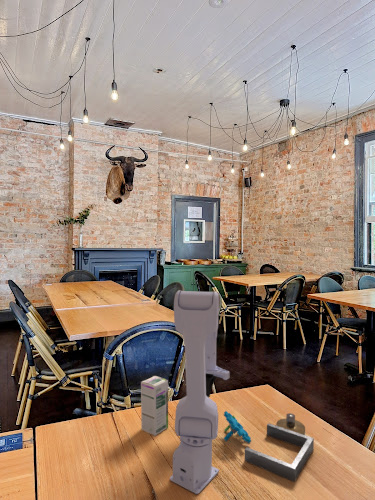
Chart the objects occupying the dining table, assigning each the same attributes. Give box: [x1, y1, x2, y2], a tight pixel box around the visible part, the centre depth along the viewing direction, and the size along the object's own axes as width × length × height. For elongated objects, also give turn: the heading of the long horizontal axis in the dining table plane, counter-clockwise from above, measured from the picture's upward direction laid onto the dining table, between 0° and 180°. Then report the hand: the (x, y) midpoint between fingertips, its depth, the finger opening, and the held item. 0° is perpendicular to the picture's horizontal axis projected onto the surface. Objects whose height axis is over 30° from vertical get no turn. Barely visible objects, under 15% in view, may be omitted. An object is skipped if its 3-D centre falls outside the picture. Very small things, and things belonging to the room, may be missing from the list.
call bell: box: [275, 412, 306, 435], centre depth 100 cm, size 8×8×5 cm
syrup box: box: [140, 375, 169, 437], centre depth 101 cm, size 6×6×14 cm
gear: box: [223, 410, 252, 444], centre depth 96 cm, size 11×6×10 cm
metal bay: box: [244, 422, 315, 483], centre depth 89 cm, size 15×13×3 cm
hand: (206, 397), depth 102 cm, fingers closed
